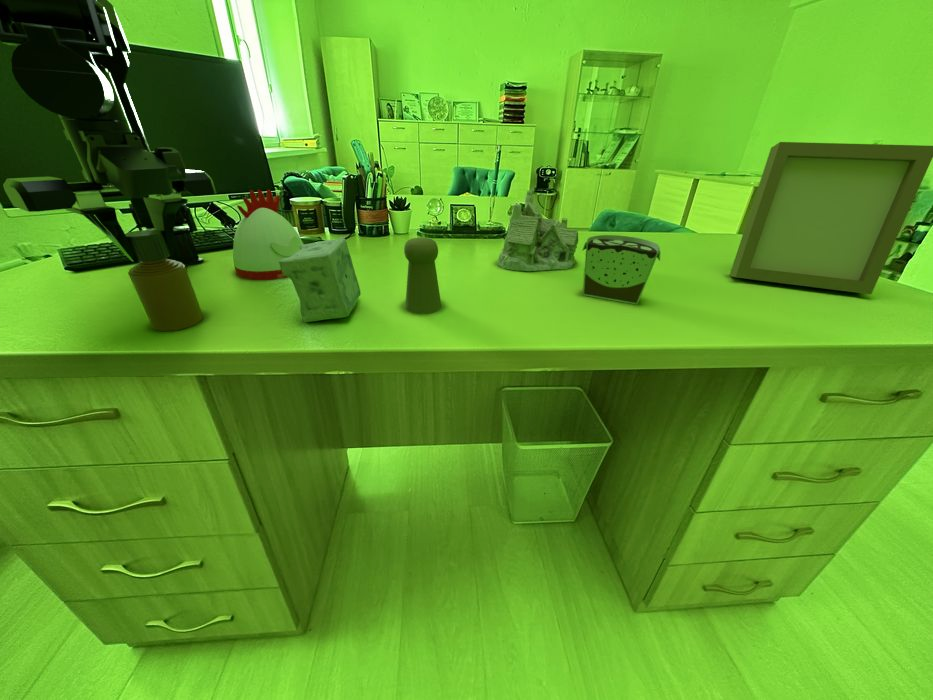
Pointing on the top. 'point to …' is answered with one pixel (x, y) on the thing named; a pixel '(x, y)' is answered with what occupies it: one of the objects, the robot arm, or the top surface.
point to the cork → (422, 276)
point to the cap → (148, 245)
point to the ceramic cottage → (537, 241)
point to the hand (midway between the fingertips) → (152, 257)
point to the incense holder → (323, 279)
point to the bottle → (166, 294)
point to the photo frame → (829, 213)
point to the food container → (618, 267)
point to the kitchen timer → (263, 239)
